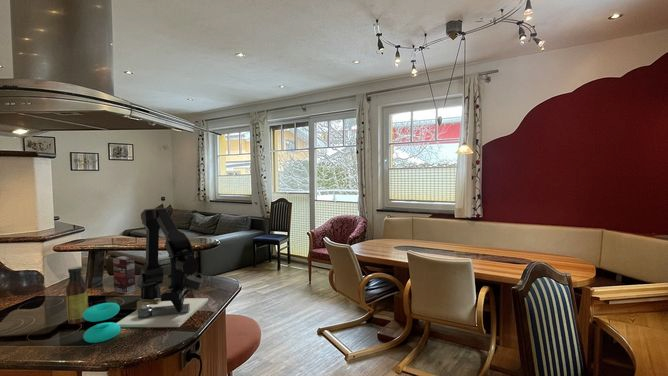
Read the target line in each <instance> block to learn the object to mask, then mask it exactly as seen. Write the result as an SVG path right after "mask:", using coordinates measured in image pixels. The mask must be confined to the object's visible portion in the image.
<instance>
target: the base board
mask: <svg viewBox="0 0 668 376" xmlns="http://www.w3.org/2000/svg"><path fill="white" fill-rule="evenodd" d="M208 301H209V298H208V297H205V298H204V297H201V298H197V297H196V298H194V297H193V298H191V297H190V298H189V297H188V298H186V297H185V299H184V302H183V304H190V311H189V313H181V314H172V315H162V316H153V317H152V316H151V317H149V318H144V319H140V318H138V312H137V309H136V310H135V311H133V312H131V313H130V314H128V315H127V316H125V317H123V318H122V319H120V320H119V321H117V322H116V323H117V324H118V325H119V326H120V328H180V327H181V326H182V325H183V324H185V322H186V321H188V320H189V319H190V317H192V316H193V315H194V314H195V313H196V312H197V311H198V310H200V309H201V308H202V307H203V306H204V305H205V304H206V303H207V302H208ZM171 305H173V303H172V302H171V301H162V302H160V303H159V304H155V305H149V307H153V308H154V307H161V306H171Z"/></svg>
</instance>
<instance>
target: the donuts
mask: <svg viewBox="0 0 668 376" xmlns="http://www.w3.org/2000/svg"><path fill="white" fill-rule="evenodd" d="M120 309H121V307H120V305H119V304H118V303H116V302H103V303H97V304H94V305H92V306H88V308H87V309H86V310H85V311H84V312H83V318H84V319H85V320H86V322H95V323H96V322H101V323H98V324H96V325H93V326H90V327H89V328H87V329H86V331H84V334H83V340H84V341H85V342H87V343H90V344H91V343H92V344H94V343H103V342H105V341H108V340H111V339H114V338H115V337H116V336H118V334H120V333H121V328H122V327H120V326H119V325H118V324H117V322H113V321H112V322H111V321H109V322H102V321H106V320H109V319H112V318H113V317H115V316H116V315H118V313H119V312H120Z"/></svg>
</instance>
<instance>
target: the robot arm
mask: <svg viewBox="0 0 668 376" xmlns="http://www.w3.org/2000/svg"><path fill="white" fill-rule="evenodd" d="M140 220H141V223H142V225H143V227H144V228H145V232H146V233H145V237H146V238H145V263H144V264H143V265H142V267H141V268H140V269H141V270H140V274H139V276H138V278H137V281H136V283H137V287H138V288H140V296H141V297H140V299H139V300H141V299H161V301H171V302H172V303H173V305H174V307H175V308H176V310H177V312H181V311H182V306H183V302H184V299H185V298H186V296H187V295H188V294H189V293H190V292H191V290H190V289H192V290H194V291H200V290H201V288H202V286H203V283H204V282H205V281H204V280H205V279H204V277H203V274H202V273H199V272H198V273H197V274H196V272H197V271H198V270H199V266H200V265H199V264H200V263H199V262H198V260H197V259H196V258H194V254H195V252H194V250H195V249H194V247H193V246H192V243H191V240H190V238H188V236H187V235H186V234H185V233H184V232H182V231H180V230H179V228H178V227H177V226H176V223H175V222H174V221H173V218H172V216H171V215H170V212H169V209H168V208H166V207H165V208H161V207H160V208H146V209H145V208H144V209H143V211H142V212H141V214H140ZM160 229H161V231H162V233H163V235H164V237H165V242H164V246H165V249H166V251H167V253H168V258H169V274H168V275H167V279H169V278H170V279H169V280H170V282H169V283H170V284H169V285H168V286H167V287H168V289H166V290H165V291H164V292H162V293H161V287H160V285H161V284H163V282H164V274H165V273H164V268H163V267H162V266H161V265H160V263H159V249H160V248H159V247H160V245H159V244H160V243H159V242H160ZM194 274H196V275H194ZM187 288H189V289H187Z"/></svg>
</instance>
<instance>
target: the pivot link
mask: <svg viewBox="0 0 668 376" xmlns="http://www.w3.org/2000/svg"><path fill="white" fill-rule="evenodd" d="M189 311H190V304H183V306H182V311H181V312H177V310H176V308H175V307H174V305H171V306H161V307H154V308H153V307H149V304H145V305H142V308H141V309H139V310H138V318H140V319H144V318H149V317H151V316H152V317H153V316H162V315H172V314H181V313H189Z"/></svg>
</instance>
